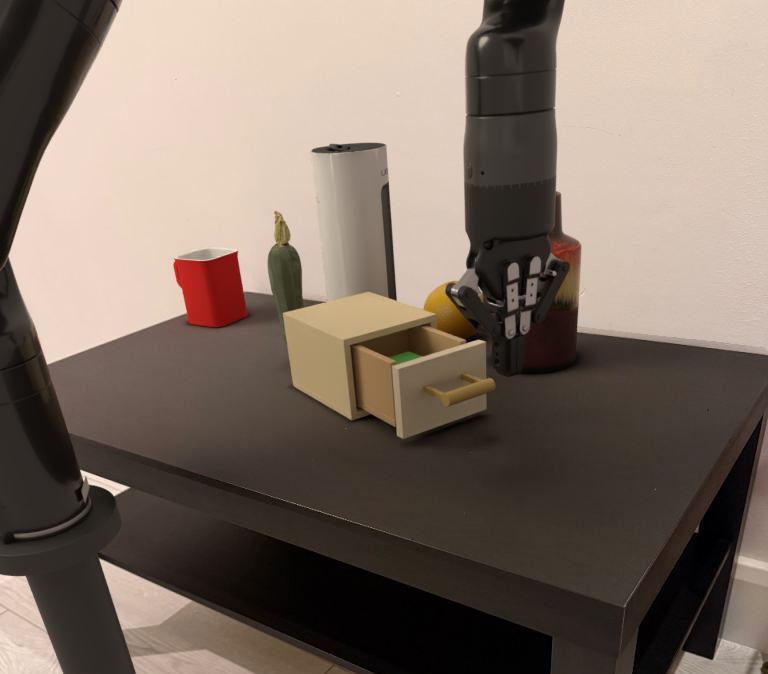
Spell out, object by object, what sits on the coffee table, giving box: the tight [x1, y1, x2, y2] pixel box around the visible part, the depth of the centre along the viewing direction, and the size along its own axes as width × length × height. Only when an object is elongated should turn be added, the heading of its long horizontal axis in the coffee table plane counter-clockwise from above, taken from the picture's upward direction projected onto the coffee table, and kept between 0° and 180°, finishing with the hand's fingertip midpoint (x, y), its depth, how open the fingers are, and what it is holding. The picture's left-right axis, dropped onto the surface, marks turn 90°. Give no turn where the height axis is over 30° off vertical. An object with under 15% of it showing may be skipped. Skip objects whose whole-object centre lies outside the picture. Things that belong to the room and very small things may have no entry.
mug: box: [172, 246, 248, 328], centre depth 126 cm, size 12×8×11 cm
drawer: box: [350, 325, 496, 440], centre depth 85 cm, size 18×11×8 cm, turn 34°
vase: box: [501, 190, 583, 374], centre depth 96 cm, size 11×11×20 cm
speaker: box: [310, 141, 398, 302], centre depth 109 cm, size 11×10×26 cm
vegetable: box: [267, 210, 305, 349], centre depth 101 cm, size 4×4×20 cm
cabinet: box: [283, 292, 437, 421], centre depth 94 cm, size 15×13×10 cm
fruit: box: [423, 280, 483, 340], centre depth 108 cm, size 9×8×8 cm
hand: (508, 373), depth 72 cm, fingers closed
